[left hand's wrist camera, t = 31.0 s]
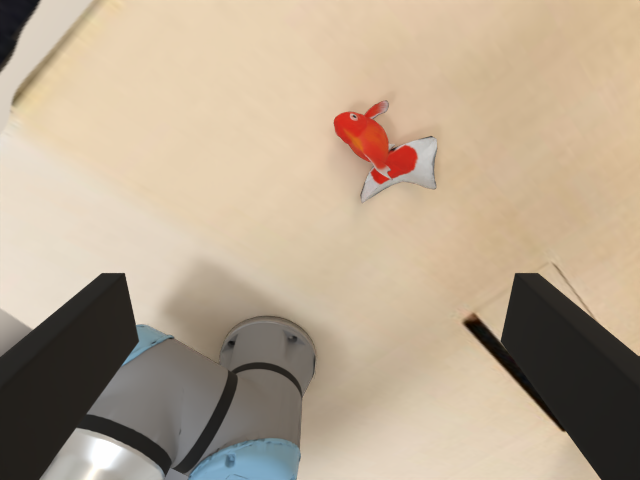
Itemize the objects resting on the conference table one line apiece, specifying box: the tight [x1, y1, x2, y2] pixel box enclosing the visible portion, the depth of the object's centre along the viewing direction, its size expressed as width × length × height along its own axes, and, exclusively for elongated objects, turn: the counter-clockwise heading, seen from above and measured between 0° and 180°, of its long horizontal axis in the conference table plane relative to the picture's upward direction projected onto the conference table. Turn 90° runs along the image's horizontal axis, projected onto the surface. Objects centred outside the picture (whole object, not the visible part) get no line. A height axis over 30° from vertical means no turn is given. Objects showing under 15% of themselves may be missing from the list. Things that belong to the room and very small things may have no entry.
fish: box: [334, 101, 437, 203], centre depth 45 cm, size 11×16×10 cm
